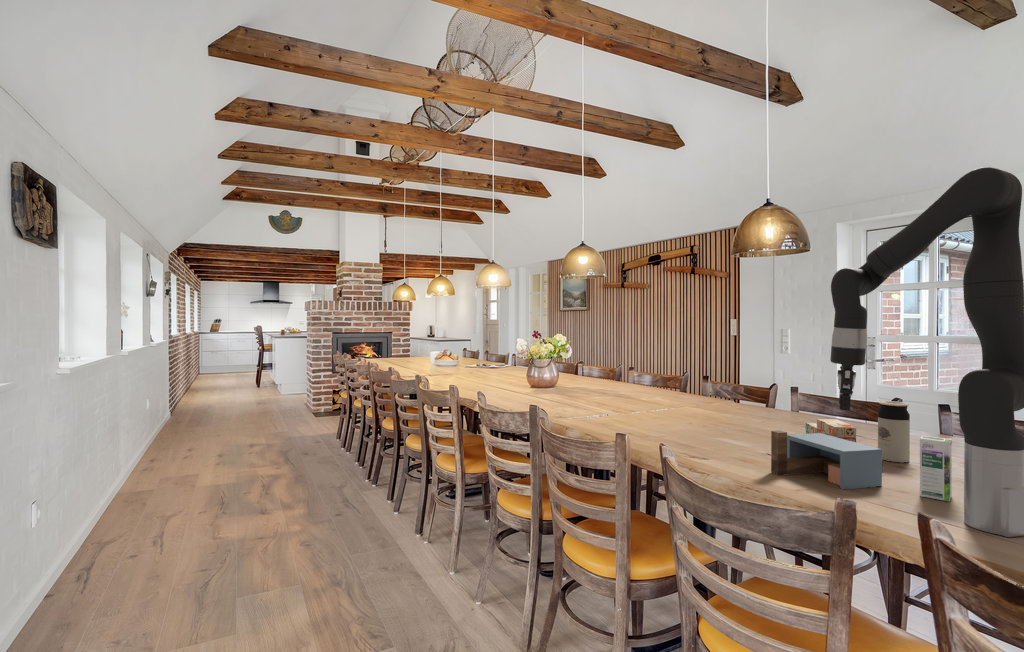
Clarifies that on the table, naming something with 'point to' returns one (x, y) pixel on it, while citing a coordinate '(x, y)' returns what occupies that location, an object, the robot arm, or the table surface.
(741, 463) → the table surface
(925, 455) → the syrup box
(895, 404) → the travel mug
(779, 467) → the bent wooden plank
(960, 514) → the table surface
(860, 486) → the cubby
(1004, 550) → the table surface
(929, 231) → the robot arm
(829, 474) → the cube
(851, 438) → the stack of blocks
